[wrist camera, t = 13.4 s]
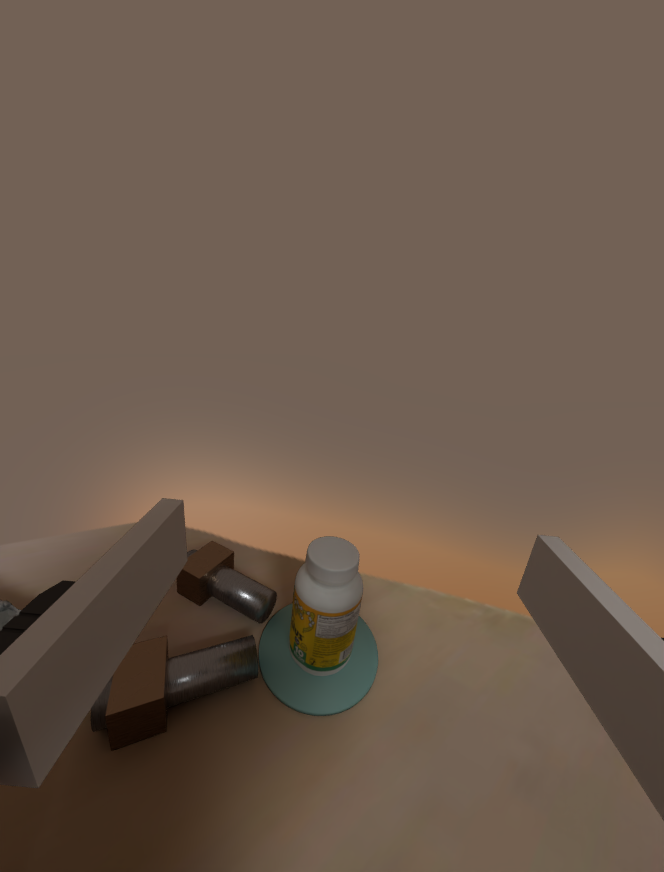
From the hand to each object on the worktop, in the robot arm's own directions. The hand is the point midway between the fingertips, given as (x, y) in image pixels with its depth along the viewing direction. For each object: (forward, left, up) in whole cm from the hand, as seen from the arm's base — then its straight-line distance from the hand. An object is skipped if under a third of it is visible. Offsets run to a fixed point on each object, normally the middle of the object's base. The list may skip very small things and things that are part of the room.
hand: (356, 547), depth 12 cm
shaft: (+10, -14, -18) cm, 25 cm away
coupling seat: (0, -10, -18) cm, 21 cm away
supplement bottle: (0, -10, -18) cm, 21 cm away
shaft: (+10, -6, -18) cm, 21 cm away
